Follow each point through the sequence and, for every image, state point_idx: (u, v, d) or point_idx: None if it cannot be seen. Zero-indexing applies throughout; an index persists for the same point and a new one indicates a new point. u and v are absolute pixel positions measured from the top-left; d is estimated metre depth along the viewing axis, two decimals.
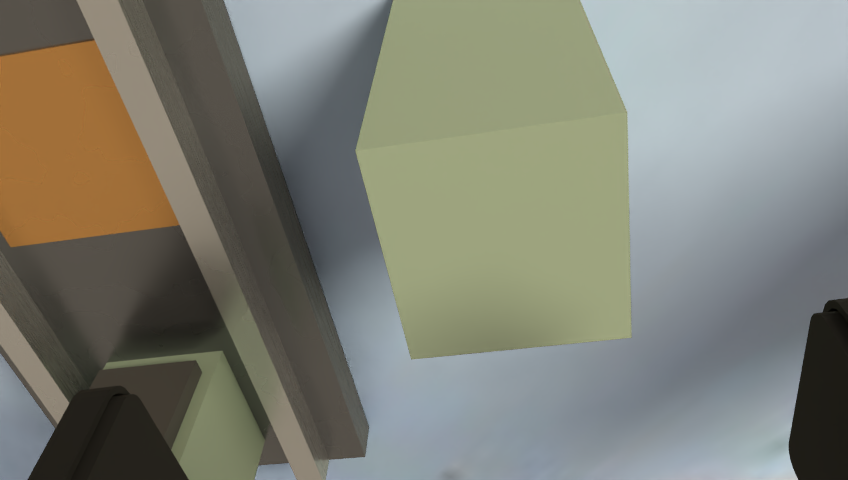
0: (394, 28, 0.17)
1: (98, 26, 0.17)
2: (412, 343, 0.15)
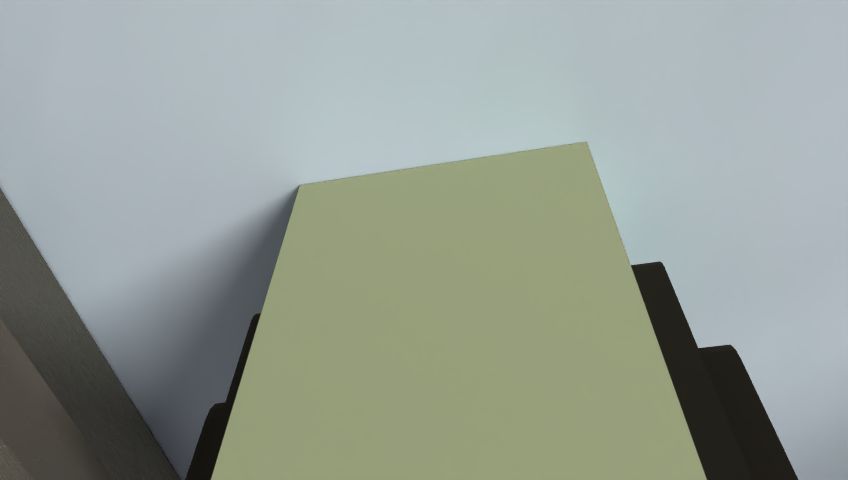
0: (276, 315, 0.09)
1: None
2: None
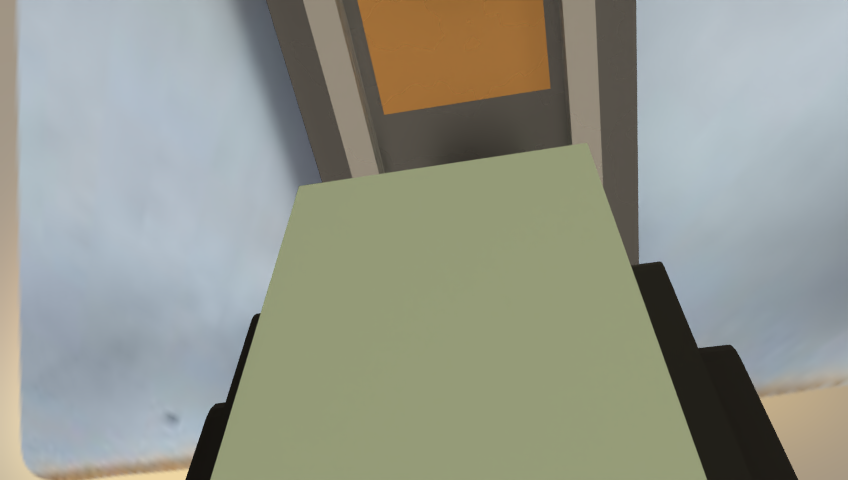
0: (275, 317, 0.09)
1: None
2: None
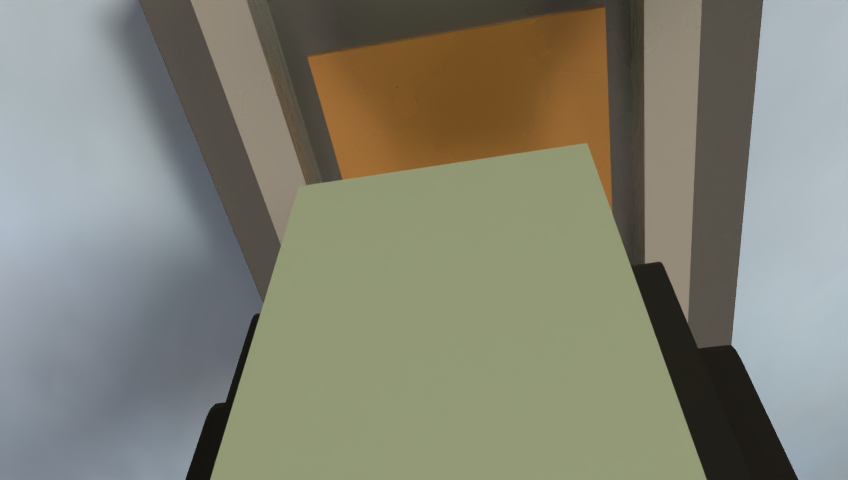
0: (275, 317, 0.09)
1: None
2: None
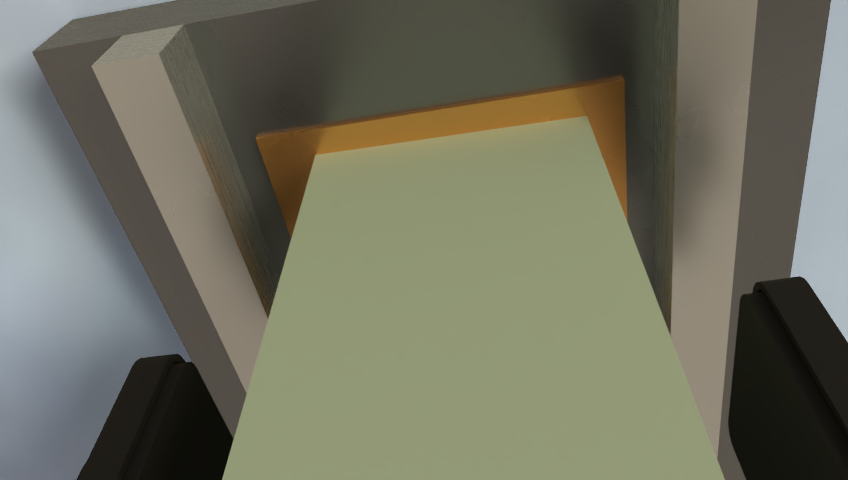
0: (297, 268, 0.09)
1: (696, 62, 0.10)
2: None
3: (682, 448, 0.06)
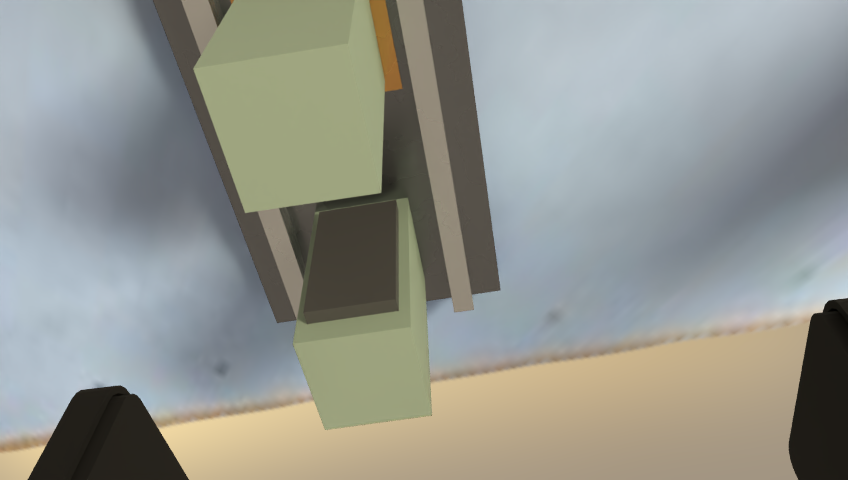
0: (237, 2, 0.25)
1: None
2: (244, 201, 0.23)
3: (344, 15, 0.22)
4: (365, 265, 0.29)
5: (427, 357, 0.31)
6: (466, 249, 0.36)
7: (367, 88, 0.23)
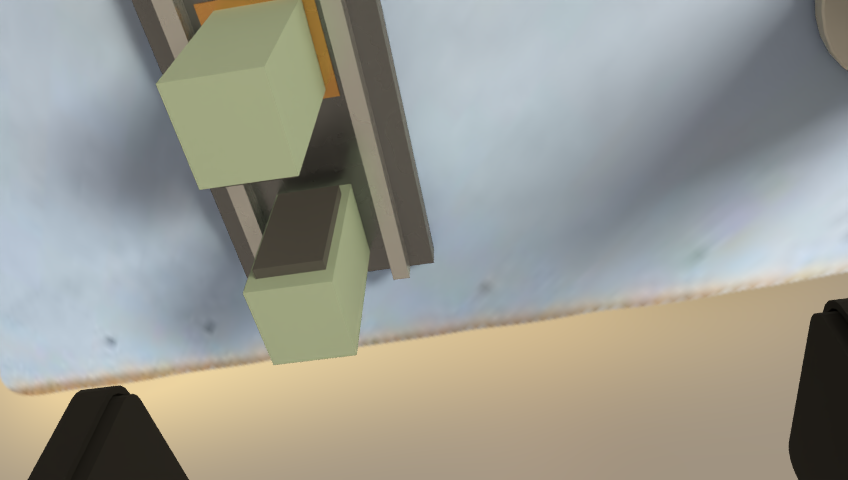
0: (200, 31, 0.33)
1: None
2: (198, 180, 0.31)
3: (270, 44, 0.30)
4: (305, 235, 0.37)
5: (359, 311, 0.39)
6: (402, 227, 0.43)
7: (290, 97, 0.31)
